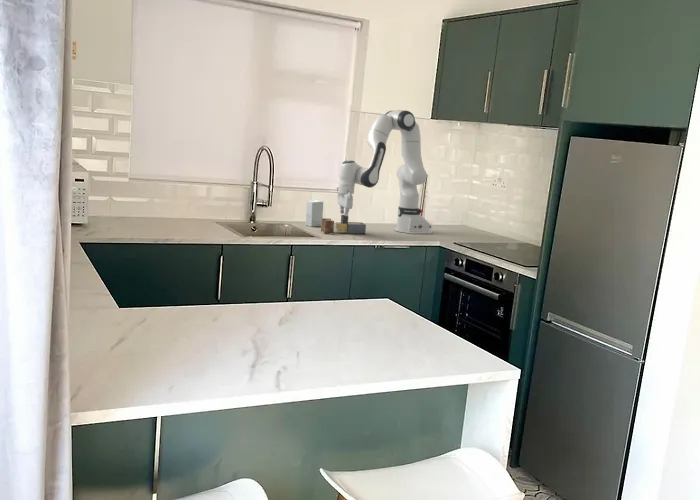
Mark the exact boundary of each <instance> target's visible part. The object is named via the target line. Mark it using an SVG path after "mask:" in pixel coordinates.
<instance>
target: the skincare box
mask: <svg viewBox="0 0 700 500" xmlns="http://www.w3.org/2000/svg"><path fill="white" fill-rule="evenodd" d="M305 212H306V214H305V226H307V225H308V227H310V226H315V227H321V223H322V218H324V217H323V216H324V215H323V214H324V201H322V200H319V199H315V200H306V211H305Z"/></svg>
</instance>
